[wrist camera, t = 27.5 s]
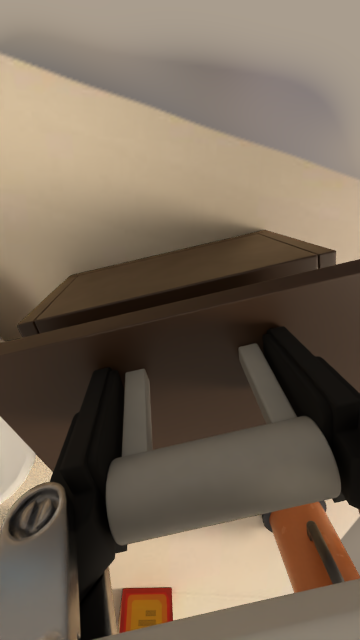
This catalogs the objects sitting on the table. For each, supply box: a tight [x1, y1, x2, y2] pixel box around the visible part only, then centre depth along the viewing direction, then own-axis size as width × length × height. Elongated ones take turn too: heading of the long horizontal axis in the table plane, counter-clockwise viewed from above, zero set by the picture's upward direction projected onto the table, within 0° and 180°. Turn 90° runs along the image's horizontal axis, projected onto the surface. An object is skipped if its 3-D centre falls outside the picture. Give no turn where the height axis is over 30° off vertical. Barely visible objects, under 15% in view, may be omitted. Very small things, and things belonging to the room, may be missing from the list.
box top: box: [0, 259, 360, 545], centre depth 12 cm, size 15×15×6 cm
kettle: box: [269, 502, 360, 593], centre depth 28 cm, size 11×6×11 cm, turn 12°
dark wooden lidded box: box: [17, 230, 336, 337], centre depth 19 cm, size 15×15×9 cm
